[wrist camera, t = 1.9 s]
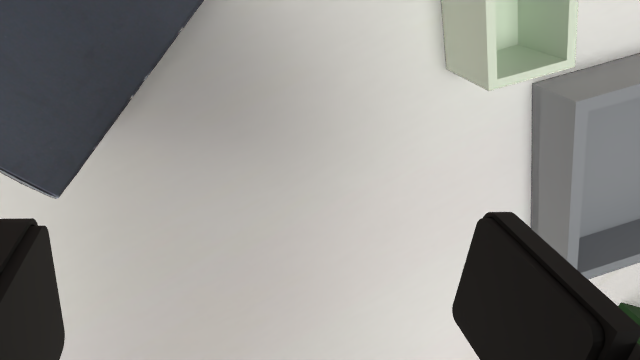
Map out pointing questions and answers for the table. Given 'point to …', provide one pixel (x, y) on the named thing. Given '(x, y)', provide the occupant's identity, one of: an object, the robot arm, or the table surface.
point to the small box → (73, 78)
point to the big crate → (588, 165)
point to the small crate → (508, 39)
